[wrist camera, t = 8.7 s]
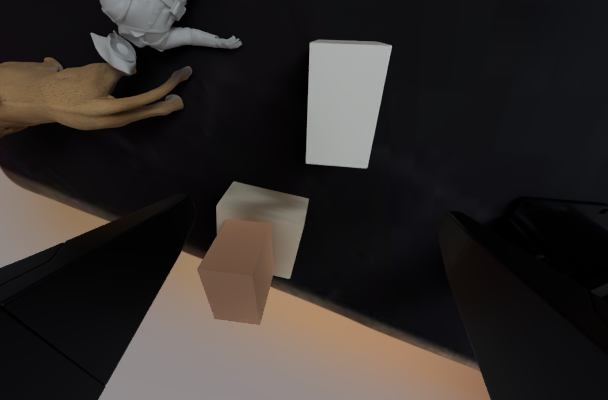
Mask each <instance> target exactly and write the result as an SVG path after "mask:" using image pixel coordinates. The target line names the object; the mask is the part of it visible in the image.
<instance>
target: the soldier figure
mask: <svg viewBox="0 0 608 400" xmlns="http://www.w3.org/2000/svg"><path fill="white" fill-rule="evenodd" d="M186 1H187V0H100V3H101V5H102V11H103V12H104V13H105V14H107V15H108V16H109V17H110V18H111V20H112V21H113V22H114V23H116V24H117V25H118V26H119V27H118V29H119V34H120V35H121V36H123V37H125V38H126V39H128V40H130V41H131V42H132V43H134V44H135V45H136V46H138V47H144V46H146V45H149V46H150V47H152V48H155V49H157V50H159V51H163V50H165V49H170V48H174V47H179V46H181V45H195V46H196V45H199V46H209V47H214V48H219V47H220V48H229V49H232V48H238V47H239V46H240V45H242V43H241V41H239V39H236V40H235V36H233V37H231V38H230V39H228V40H226V39H219V37H218V36H216V35H212V34H209V33H206V32H203V31H200V30H197V29H190V28H187V27H186V28H181V27H179V28H176V27H171V25H172V24H173V22H174V21H175V19H176V20H177V21H179V20H180V18H181V17H182V16H183V14H184V13H185V11H186V8H185V7H184V6H185V5H186V4H187V3H186ZM113 32H114V33H116V32H115V31H114V30H113ZM90 34H91V36H92V39H93V42H94V45H95V47H96V49H97V51H98V52H99V54H100V55H101V56H102V57H103V58H104V59H105V60H106V61H107V62H108V63H109V64H110V65H111V66H113V67H114V68H116V69H118V70H121V71H123V72H125V73H127V74H132V71H133V69H134V67H135V63H136V58H137V57H136V53H135V50H134V48H133V47H132V46H131V44H130V43H129V42H128V41H126V40H125V39H123V38H122V37H120V36H118V35H116V34H117V33H116V34H113V33H111V34H109V35H108V37H101V36H98V35H96V34H94V33H90ZM237 41H239V42H237ZM236 42H237V43H236ZM235 43H236V44H235Z"/></svg>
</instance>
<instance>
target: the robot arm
mask: <svg viewBox="0 0 608 400" xmlns="http://www.w3.org/2000/svg"><path fill="white" fill-rule="evenodd" d="M526 202H527V203H526ZM524 203H525V204H524ZM607 215H608V205H607V204H605V203H595V202H583V201H571V200H559V199H547V198H535V197H522V198H520V199H518V200H517V202H516V203H515V205H514V206H513V208H512V209H511V211H510V212H509V214H508V215H507V217H506V218H505V219H504V221H503V222H502V224H501V225H500V227H499V228H498V230H497V231H496V233H495V232H493V231H491V230H490V229H488V228H486V227H485V226H483V225H482V224H480V223H478V222H477V221H475V220H473V219H472V218H470V217H469V216H467V215H465V214H464V213H462V212H458V211H447V212H446V213H445V214H444V216H443V219H442V221H441V223H440V226H439V228H438V232H437V236H438V240H439V245H440V249H441V254H442V258H443V262H444V267H445V271H446V275H447V278H448V281H449V284H450V287H451V290H452V293H453V295H454V298H455V301H456V304H457V307H458V309H459V312H460V315H461V318H462V320H463V323H464V326H465V329H466V332H467V334H468V337H469V340H470V343H471V346H472V348H473V351H474V354H475V357H476V360H477V362H478V365H479V368H480V371H481V373H482V376H483V379H484V382H485V385H486V387H487V390H488V393H489V396H490V399H491V400H608V231H607V230H605V229H604V228H603V227H601V226H600V225H599V224H600V223H601V222H602V221H603V220H604V218H605V217H606V216H607ZM195 218H196V210H195V207H194V204H193V201H192V198H191V196H190V195H188V194H175V195H173V196H171V197H168V198H166V199H164V200H161V201H159V202H157V203H154V204H152V205H150V206H147V207H145V208H143V209H140V210H138V211H136V212H133V213H131V214H128V215H126V216H124V217H121V218H119V219H117V220H114V221H112V222H110V223H107V224H105V225H103V226H100V227H98V228H96V229H93V230H91V231H89V232H86V233H84V234H82V235H79V236H77V237H75V238H72V239H70V240H67V241H66V242H65V243H60V244H58V245H56V246H53V247H51V248H49V249H46V250H44V251H41V252H39V253H36V254H34V255H32V256H29V257H27V258H25V259H22V260H19V261H17V262H14V263H12V264H9V265H7V266H4V267H2V268H0V400H98V399H99V397H100V395H101V394H102V392H103V390H104V388H105V385H106V384H107V382H108V381H109V379H110V377H111V375H112V374H113V372H114V370H115V368H116V367H117V365H118V363H119V361H120V360H121V358H122V356H123V354H124V352H125V351H126V349H127V347H128V345H129V344H130V342H131V340H132V338H133V337H134V335H135V333H136V331H137V329H138V328H139V326H140V324H141V322H142V321H143V319H144V317H145V315H146V313H147V311H148V310H149V308H150V306H151V305H152V302H153V301H154V299H155V297H156V296H157V294H158V292H159V290H160V289H161V287H162V285H163V283H164V281H165V280H166V278H167V276H168V274H169V273H170V271H171V269H172V267H173V265H174V264H175V262H176V260H177V258H178V257H179V255H180V253H181V251H182V249H183V247H184V244H185V242H186V240H187V237H188V235H189V233H190V230H191V228H192V226H193V223H194V221H195Z"/></svg>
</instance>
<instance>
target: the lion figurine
mask: <svg viewBox="0 0 608 400" xmlns="http://www.w3.org/2000/svg"><path fill="white" fill-rule="evenodd" d="M135 73H136V63H135V67H134V69H133V71H132V74H127V73H125V72H123V71H121V70H118V69H116V68H114V67H113V66H111V65H110V64H109V63H94V64H89V65H86V66H83V67H77V68H68V69H64V70H63V67H62V66H61V64H60V63H58V62H57V61H56V60H55V59H53V58H45V59H44V63H35V62H5V63H2V64H0V138H1V137H3V136H4V135H7V134H11V133H15V132H18V131H21V130H22V129H25V128H27V127H28V126H34V125H38V124H41V123H52V122H58V123H60V124H63V125H66V126H69V127H72V128H76V129H80V130H94V129H103V128H114V127H121V126H124V125H126V124H129V123H131V122H134V121H137V120H140V119H144V118H148V117H152V116H158V115H167V114H169V113H171V112H173V111H178V110H180V109H182V108H183V102H182V99H181V98H180V97H179V96H177V95H168V96H167V97H166V100H165V101H163V102H158V103H155V104H152V105H147V106H143V105H145V104H148V103H151V102H153V101H156V100H158V99H160V98H162V97H163V96H165V95H166V94H167V93H168V92H170V91H171V90H172V89H173V88H174V87H175V86H176V85H177V84H178V83H179V82H181V81H183V80H187V79H188V77H189V76H190V75H191V74H192V69H191V67H189V66H186V67H184V68H182V69H180V70H178V71H175V72H174V73H173V74H172V76H171V78H170V79H169V80H168V81H167V82H166V83H164V84H163V85H162V86H160V87H158V88H156V89H154V90H152V91H149V92H147V93H144V94H140V95H137V96H133V97H127V98H120V99H115V98H114V97H113V96H110V95H111V93H112V92H113V90H114V88H115V86H116V83H117V81H118V80H119V79H120V78H121V77H122V76H123V75H128V76H130V75H133V74H135Z"/></svg>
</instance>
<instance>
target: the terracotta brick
mask: <svg viewBox="0 0 608 400" xmlns="http://www.w3.org/2000/svg"><path fill="white" fill-rule="evenodd" d="M198 273H199V275H200V278H201V281H202V284H203V287H204V290H205V292H206V295H207V298H208V301H209V304H210V307H211V309H212V312H213V315H214V318H215V319H221V320H228V321H236V322H243V323H250V324H259V325H260V322H261V318H262V315H263V311H264V307H265V303H266V300H267V296H268V292H269V289H270V285H271V281H272V277H273V274H274V264H273V248H272V232H271V223H262V222H252V221H243V220H233V219H227V220H226V221H225V223H224V225H223V226H222V228H221V230H220V232H219V233H218V235H217V237H216V238H215V240H214V242H213V243H212V245H211V247H210V248H209V250H208V252H207V254H206V255H205V257H204V259H203V260H202V262H201V264H200V266H199V267H198Z"/></svg>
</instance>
